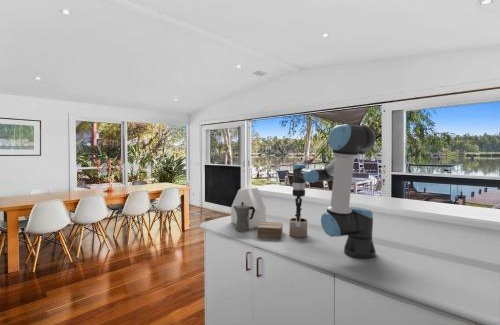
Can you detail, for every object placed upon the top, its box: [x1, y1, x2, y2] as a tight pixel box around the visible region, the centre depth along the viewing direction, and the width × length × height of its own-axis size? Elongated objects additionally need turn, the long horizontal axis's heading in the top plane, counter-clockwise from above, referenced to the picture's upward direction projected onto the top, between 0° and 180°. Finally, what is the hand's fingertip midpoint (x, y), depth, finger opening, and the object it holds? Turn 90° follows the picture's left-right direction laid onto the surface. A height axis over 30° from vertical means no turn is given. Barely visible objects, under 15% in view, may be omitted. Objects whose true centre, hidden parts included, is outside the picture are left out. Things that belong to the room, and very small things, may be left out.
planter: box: [288, 217, 308, 238], centre depth 182 cm, size 11×11×10 cm
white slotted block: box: [230, 186, 267, 229], centre depth 208 cm, size 19×15×25 cm
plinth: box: [257, 221, 283, 240], centre depth 183 cm, size 14×14×6 cm
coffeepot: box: [233, 202, 255, 232], centre depth 193 cm, size 15×9×18 cm, turn 69°
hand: (298, 223), depth 182 cm, fingers open, 13 cm apart
